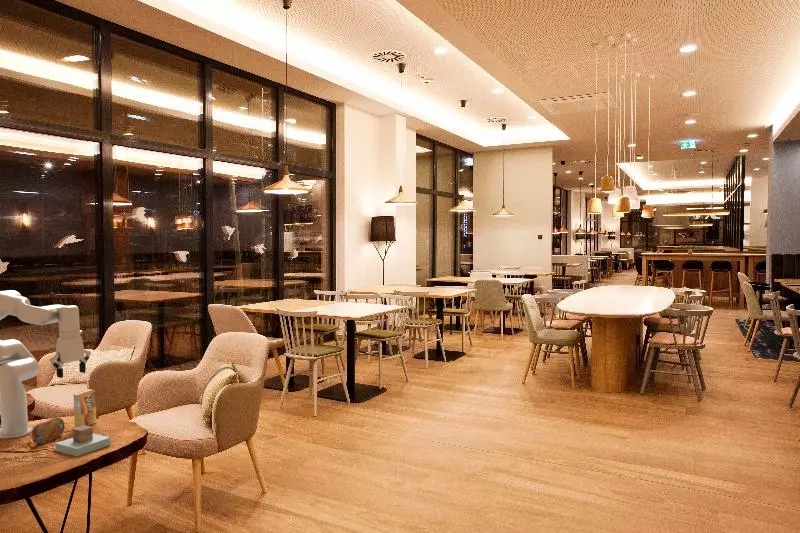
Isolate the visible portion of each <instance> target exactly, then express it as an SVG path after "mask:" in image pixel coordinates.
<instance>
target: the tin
mask: <svg viewBox="0 0 800 533" xmlns="http://www.w3.org/2000/svg"><path fill="white" fill-rule="evenodd" d="M64 431H65V422H64V420H63V419H62V418H60V417H52V418H49V419H47V420H45V421H42V422H40V423H38V424H36V425H35V426H34V427H32V432H31V439H32V441H33V443H34V444H37V445H44V444H47V443H49V442H51V441H53V439H54V440H56V439H58V438H59V437H61V436H62V435H63V434H64Z"/></svg>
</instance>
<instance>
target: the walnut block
mask: <svg viewBox="0 0 800 533" xmlns="http://www.w3.org/2000/svg"><path fill="white" fill-rule="evenodd" d="M93 434H94V432H93V426H91V425H89V426H85V425H84V426H81V427H78V428H75V427H74V428H72V438H73V441H74V442H78V443H83V442H86V441H89V440H92V439H93Z"/></svg>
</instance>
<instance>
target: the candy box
mask: <svg viewBox="0 0 800 533" xmlns="http://www.w3.org/2000/svg"><path fill="white" fill-rule="evenodd" d="M96 400H97V399H96V389H90V388H89V389H85V390H83V391H80V392H76V393H74V394H73V411H74V412H73V414H74V415H73V417H74V428H78V427H81V426H84V425H85V426H92V425H94V424H96V423H97V404H96V403H97V402H96Z"/></svg>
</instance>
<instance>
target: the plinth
mask: <svg viewBox="0 0 800 533" xmlns="http://www.w3.org/2000/svg"><path fill="white" fill-rule="evenodd" d="M110 445H111V437H109V436H105V435H102V434H101V435H100V434H97V433H93V439H92V440H89V441H86V442H83V443H78V442H74V441H73V437H70V438H67V439H64V440H61V441H59V442H55V443H54V446H55V452H59V453H63V454H67V455H70V456H73V457H79V456H83V455H86V454H89V453H91V452H94V451H96V450H100V449H102V448H106V447H109V446H110ZM88 452H89V453H88ZM85 453H86V454H85ZM82 454H83V455H82Z"/></svg>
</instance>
